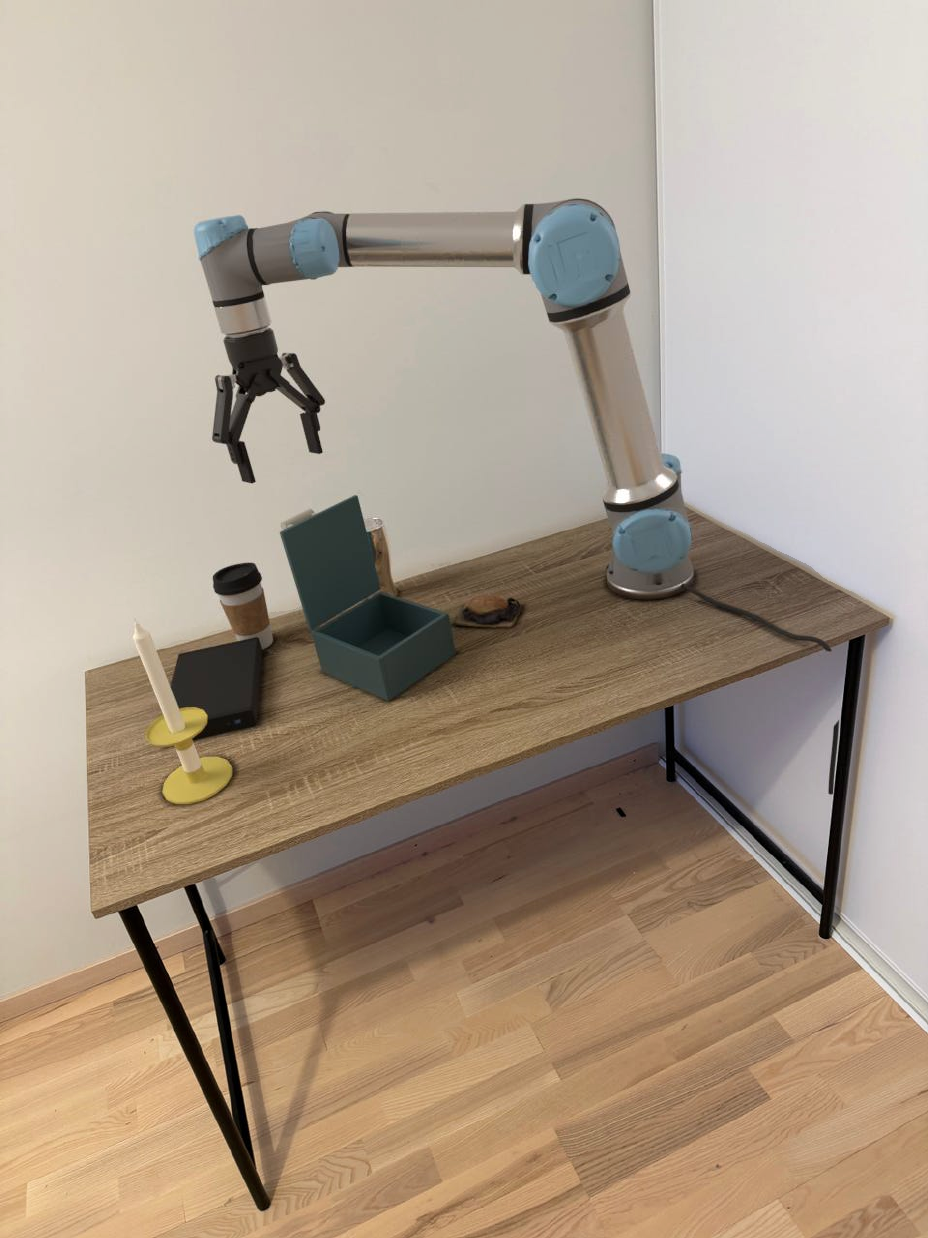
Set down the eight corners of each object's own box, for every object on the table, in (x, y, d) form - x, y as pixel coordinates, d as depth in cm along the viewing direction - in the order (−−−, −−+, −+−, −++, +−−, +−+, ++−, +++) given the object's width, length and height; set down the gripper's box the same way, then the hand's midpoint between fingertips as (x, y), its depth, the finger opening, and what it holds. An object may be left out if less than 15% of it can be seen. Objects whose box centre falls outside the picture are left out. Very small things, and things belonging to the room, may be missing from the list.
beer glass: (406, 594, 161) (391, 523, 154) (375, 608, 158) (358, 536, 151) (388, 583, 166) (373, 513, 159) (358, 596, 163) (341, 526, 156)
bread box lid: (357, 495, 138) (327, 490, 143) (282, 532, 129) (252, 525, 134) (381, 589, 146) (351, 580, 152) (311, 630, 137) (282, 620, 142)
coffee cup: (269, 656, 149) (245, 581, 141) (226, 656, 151) (200, 582, 143) (287, 631, 156) (265, 558, 148) (245, 632, 158) (222, 560, 150)
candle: (191, 754, 126) (130, 597, 113) (246, 762, 123) (189, 601, 109) (148, 798, 119) (77, 636, 105) (205, 809, 115) (138, 642, 102)
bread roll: (454, 628, 148) (450, 610, 146) (468, 604, 154) (464, 586, 153) (512, 629, 144) (509, 611, 142) (524, 604, 151) (521, 586, 149)
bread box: (456, 653, 140) (448, 613, 136) (388, 701, 131) (378, 659, 127) (388, 629, 151) (380, 591, 147) (321, 671, 141) (310, 632, 137)
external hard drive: (262, 651, 150) (258, 636, 149) (256, 725, 130) (251, 710, 129) (183, 668, 149) (177, 654, 148) (164, 746, 129) (158, 730, 128)
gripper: (297, 311, 135) (327, 438, 146) (160, 352, 120) (205, 491, 131) (326, 311, 130) (356, 443, 141) (188, 354, 116) (232, 498, 126)
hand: (283, 466), depth 136 cm, fingers open, 13 cm apart
